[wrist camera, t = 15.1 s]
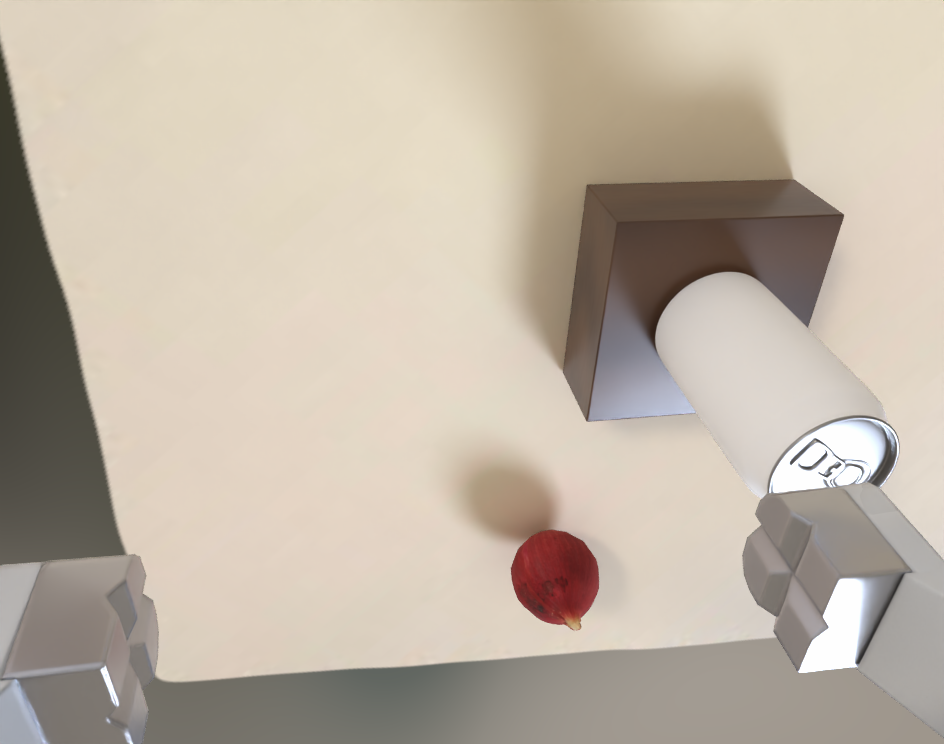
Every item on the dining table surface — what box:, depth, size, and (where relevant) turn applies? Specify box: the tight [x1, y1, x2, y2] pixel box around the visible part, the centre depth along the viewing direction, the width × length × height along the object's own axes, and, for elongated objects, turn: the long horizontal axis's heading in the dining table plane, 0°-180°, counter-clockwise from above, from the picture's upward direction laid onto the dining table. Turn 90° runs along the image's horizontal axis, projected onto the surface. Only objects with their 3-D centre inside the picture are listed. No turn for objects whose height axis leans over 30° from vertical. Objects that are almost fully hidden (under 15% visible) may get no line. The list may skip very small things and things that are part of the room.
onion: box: [511, 530, 599, 630], centre depth 53 cm, size 6×6×8 cm
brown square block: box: [563, 180, 844, 422], centre depth 44 cm, size 12×12×5 cm
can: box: [655, 272, 899, 499], centre depth 37 cm, size 6×6×12 cm
